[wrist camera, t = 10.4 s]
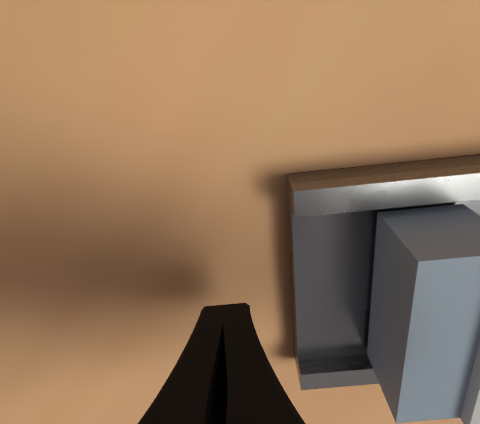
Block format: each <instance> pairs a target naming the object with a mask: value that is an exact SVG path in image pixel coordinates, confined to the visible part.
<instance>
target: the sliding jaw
mask: <svg viewBox="0 0 480 424" xmlns="http://www.w3.org/2000/svg"><path fill="white" fill-rule="evenodd" d="M367 355H368V358H369V360H370V363H371V365H372V367H373V370H374V372H375V374H376V377H377V379H378V381H379V384H380V386H381V389H382V391H383V393H384V396H385V398H386V400H387V403H388V405H389V407H390V410H391V412H392V415H393V417H394V419H395V422H396V423H401V422H413V421H426V420H438V419H450V418H461V420H462V422H463V423H464V424H480V216H479V215H478V214H477V213H475V212H474V211H473V210H471V209H470V208H468V207H467V206H466V205H464V204H457V205H447V206H436V207H426V208H416V209H406V210H395V211H385V212H377V225H376V239H375V252H374V266H373V279H372V293H371V306H370V320H369V333H368V347H367Z"/></svg>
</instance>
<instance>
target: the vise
mask: <svg viewBox="0 0 480 424" xmlns="http://www.w3.org/2000/svg"><path fill="white" fill-rule="evenodd" d="M287 193H288V214H289V235H290V257H291V278H292V299H293V320H294V342H295V360H296V365H297V371H298V376H299V381H300V386H301V390H307V389H319V388H331V387H343V386H355V385H367V384H378V383H379V381H378V379H377V377H376V374H375V372H374V370H373V367H372V365H371V363H370V360H369V358H368V355H367V347H368V333H369V320H370V306H371V293H372V279H373V266H374V252H375V239H376V225H377V212H385V211H395V210H406V209H416V208H426V207H436V206H447V205H457V204H464V205H466V206H467V207H468V208H470V209H471V210H473V211H474V212H475V213H477V214H478V215H479V216H480V155H471V156H461V157H451V158H441V159H432V160H422V161H412V162H402V163H392V164H382V165H372V166H362V167H353V168H343V169H333V170H323V171H313V172H303V173H293V174H287Z"/></svg>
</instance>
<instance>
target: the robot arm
mask: <svg viewBox="0 0 480 424" xmlns="http://www.w3.org/2000/svg"><path fill="white" fill-rule="evenodd" d="M138 424H305V423H304V421H303V420H302V418H301V417H300V415H299V413H298V412H297V410H296V409H295V407H294V406H293V404H292V402H291V401H290V399H289V398H288V396H287V394H286V393H285V391H284V389H283V387H282V386H281V384H280V382H279V380H278V378H277V376H276V375H275V373H274V371H273V369H272V367H271V365H270V363H269V361H268V359H267V357H266V355H265V352H264V350H263V348H262V346H261V344H260V341H259V339H258V336H257V333H256V331H255V328H254V325H253V322H252V318H251V314H250V306H249V305H248V304H246V303H238V304H227V305H217V306H206V307H204V308H203V309H202V311H201V314H200V316H199V319H198V321H197V323H196V326H195V328H194V330H193V332H192V334H191V336H190V338H189V340H188V343H187V344H186V346H185V348H184V350H183V352H182V354H181V356H180V358H179V360H178V361H177V363H176V365H175V367H174V369H173V370H172V372H171V374H170V375H169V377H168V379H167V380H166V382H165V384H164V385H163V387H162V389H161V390H160V392H159V393H158V395H157V397H156V398H155V400H154V401H153V403H152V404H151V406H150V407H149V409H148V410H147V411H146V413H145V414H144V416H143V417H142V418H141V420H140V421H139V423H138Z"/></svg>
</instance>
